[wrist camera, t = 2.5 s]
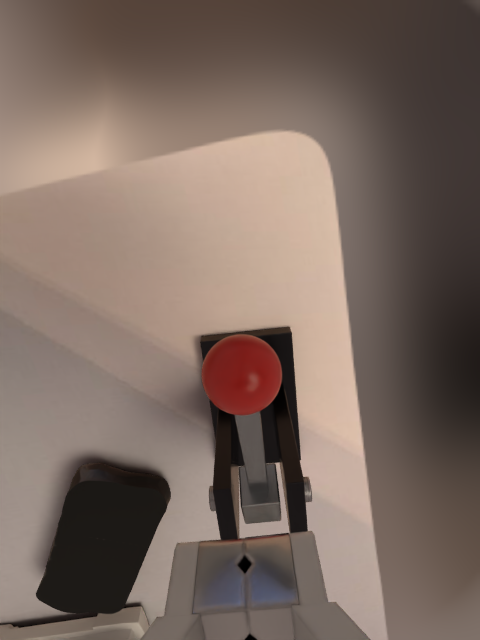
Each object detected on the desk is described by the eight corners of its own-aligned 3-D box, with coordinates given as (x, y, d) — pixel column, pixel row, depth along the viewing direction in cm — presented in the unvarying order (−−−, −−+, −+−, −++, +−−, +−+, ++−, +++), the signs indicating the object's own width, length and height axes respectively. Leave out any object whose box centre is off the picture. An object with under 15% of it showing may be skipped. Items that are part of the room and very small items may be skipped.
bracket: (201, 335, 34) (183, 434, 22) (289, 326, 34) (319, 421, 22) (220, 459, 38) (214, 597, 26) (299, 451, 38) (328, 587, 26)
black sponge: (86, 443, 38) (71, 473, 34) (178, 471, 39) (173, 502, 35) (46, 570, 43) (30, 606, 40) (128, 591, 44) (119, 628, 41)
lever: (195, 322, 17) (194, 388, 15) (275, 313, 17) (286, 379, 15) (234, 479, 28) (237, 532, 26) (283, 475, 28) (290, 527, 26)
